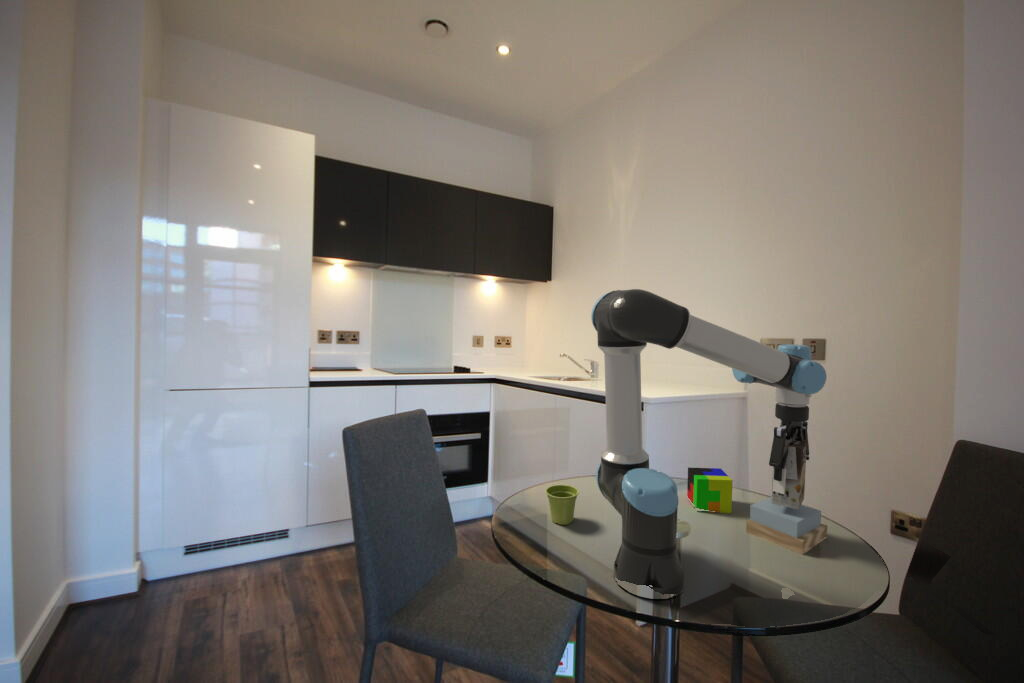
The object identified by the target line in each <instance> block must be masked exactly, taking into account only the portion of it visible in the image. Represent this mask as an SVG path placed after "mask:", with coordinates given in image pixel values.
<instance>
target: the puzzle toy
mask: <svg viewBox="0 0 1024 683" xmlns="http://www.w3.org/2000/svg"><path fill="white" fill-rule="evenodd" d="M733 481H734V480H733V479H732V478H731V477H729V475H728V474H727V473H726V472H725V471H724V470H723V469H722V468H717V467H715V468H714V467H711V468H710V467H687V491H686V494H687V495H686V497H687V496H688V498H689V499H690V500H691V502H692V503H693V504H694V505H695V507H696V508H699V509H704V510H709V511H715V512H720V514H732V513H733V512H732V509H733V507H732V506H733V504H732V503H733ZM715 512H714V513H715Z"/></svg>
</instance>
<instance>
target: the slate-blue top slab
mask: <svg viewBox="0 0 1024 683" xmlns="http://www.w3.org/2000/svg"><path fill="white" fill-rule="evenodd" d="M771 501H772V496H770V497H767V498H765V499H762V500H760V501H758V502H756V503H753V504H750V505H749V506H750V509H749V511H750V512H749V519H750V520H752V521H754V522H757V523H759V524H762V525H765V526H767V527H770V528H772V529H775V530H777V531H780V532H782V533H785V534H787V535H790V536H793V537H795V538H798V537H800V536H802V535H804V534H806V533H808V532H810V531H811V530H813V529H815V528H817V527H819V526H821V524H822V522H821V521H822V510H819V509H817V508H814V507H810V506H807V505H804V504H802V503H801V505H800V507H799V509H793V508H789V507H785V506H781V505H777V504H772V503H771Z"/></svg>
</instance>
